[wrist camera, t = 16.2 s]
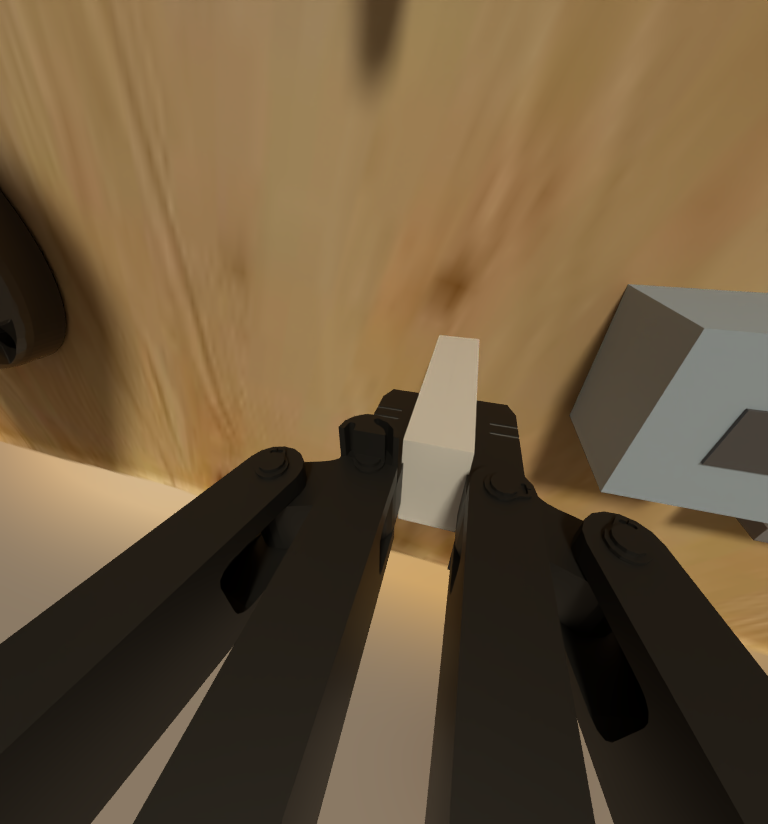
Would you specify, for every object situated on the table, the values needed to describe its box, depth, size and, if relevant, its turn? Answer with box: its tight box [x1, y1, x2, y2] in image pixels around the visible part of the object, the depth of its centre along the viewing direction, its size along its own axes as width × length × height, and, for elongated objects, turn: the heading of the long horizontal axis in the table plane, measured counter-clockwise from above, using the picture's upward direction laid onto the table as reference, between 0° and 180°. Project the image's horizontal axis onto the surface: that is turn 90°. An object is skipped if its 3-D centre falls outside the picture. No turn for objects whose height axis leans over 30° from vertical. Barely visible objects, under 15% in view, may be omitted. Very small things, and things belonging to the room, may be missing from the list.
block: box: [570, 284, 768, 523], centre depth 10 cm, size 6×6×5 cm
